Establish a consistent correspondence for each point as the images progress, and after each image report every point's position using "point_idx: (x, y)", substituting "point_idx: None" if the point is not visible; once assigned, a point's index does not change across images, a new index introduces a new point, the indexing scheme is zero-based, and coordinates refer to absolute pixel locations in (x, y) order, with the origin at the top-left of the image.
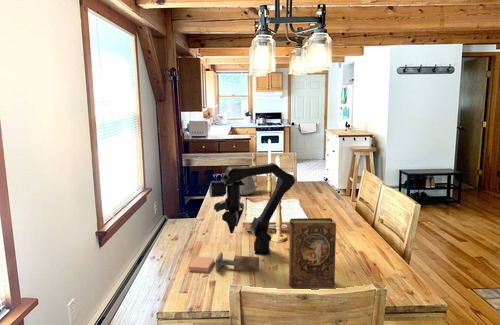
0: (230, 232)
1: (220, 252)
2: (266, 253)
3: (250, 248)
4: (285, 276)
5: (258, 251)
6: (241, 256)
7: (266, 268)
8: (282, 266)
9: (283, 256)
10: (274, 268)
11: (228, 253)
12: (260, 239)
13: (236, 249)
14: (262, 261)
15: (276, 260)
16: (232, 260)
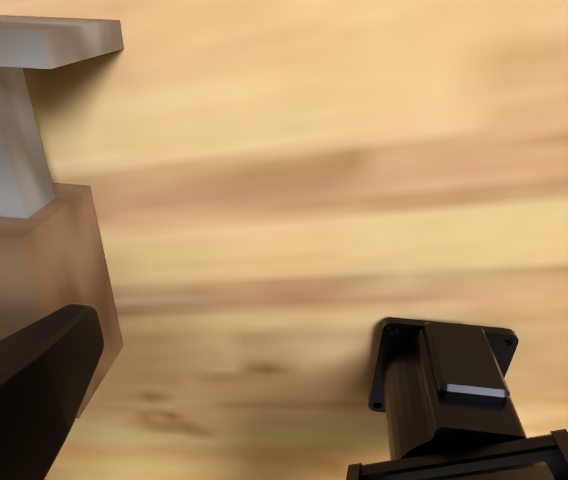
0: (58, 317)
1: (31, 36)
2: (370, 398)
3: (529, 278)
4: (76, 453)
5: (396, 355)
6: (29, 296)
7: (140, 382)
8: (193, 452)
9: (345, 469)
10: (154, 418)
11: (400, 63)
12: None
13: (521, 142)
14: (244, 364)
15: (275, 434)
16: (4, 196)
